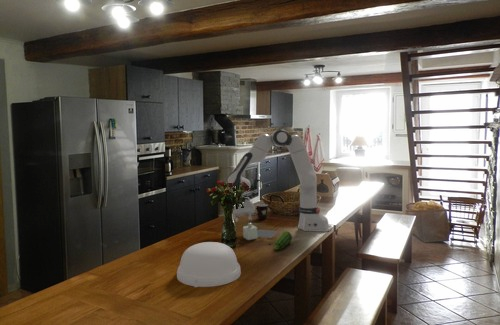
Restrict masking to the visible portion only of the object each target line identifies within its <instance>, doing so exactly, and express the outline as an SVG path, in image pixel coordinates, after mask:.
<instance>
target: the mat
mask: <svg viewBox="0 0 500 325" xmlns="http://www.w3.org/2000/svg"><path fill="white" fill-rule="evenodd" d="M279 232H280V231H279V230H270V229H260V228H259V229H257V235H258V238H266V239H267V238H269V239H272V238H273V237H274V236H275V235H277V234H278V233H279Z"/></svg>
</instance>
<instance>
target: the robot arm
mask: <svg viewBox="0 0 500 325" xmlns="http://www.w3.org/2000/svg"><path fill="white" fill-rule="evenodd" d="M272 147H276V148H278V147H279V148H281V147H286V148H287V150H288V152H289V155H290V158H291V161H292V163H293V165H294V168H295V171H296V174H297V177H298V179H299V210H298V212H299V220H298V225H297V228H298V229H299V230H302V231H304V232H320V233H321V232H326V233H327V232H329V231H331V230H332V229H333V228H332V227H333V226H332V225H330V224H329V220H328V218H327V217H326V216H325V215H323V214H322V213H321V210H320V209H321V208H320V207H318V199H317V198H318V194H317V193H318V192H317V190H318V189H317V187H318V185H317V182H318V177H317V174H316V172H315V170H314V166H313V164H312V161H311V158H310V156H309V153H308V151H307V148H306V146H305V142H304V141H303V140H302V138H301V136H300V135H298V134H291V133H289V132H288V131H287V130H285V129H282V128H281V129H277V130H275V131H273V132H272V133H271V134H268V133H260V134H259V136H257V138H256V139H255V141H254V143H253V145H252V146H251V148H250V149H249V151H247V152H246V153H245V154H244V155H243V156H242V158H241V159H240V161H238V164H237V165H236V167H235V168H234V170H233V171H232V172H231V173H230V174H229V175H228V177H227V178H226V182H225V183H233V186H234V187H235V186H236V185H237V183H242V182H245V183H246V184H247V185H248V186H249V188H250V189H249V190H248V191H246V192H244V193H243V194H242V195H241V196H243V195H245V194H247V193H248V192H249V191H250V190H251V187H252V183H251V181H250V180H249V179H248V178H245V176H243V174H244V173H245V171H246V169H247V168H248V166H250V165H251V164H258V163H262V162H263V161H264V160H265V159H266V157H267V155H268V153H269V151H270V149H271V148H272ZM243 197H244V198H245V202H244V203H243V206H244V208H241V205H239V207H238V209H236V207H235V206H234V210H233V218H232V219H233V220H234V221H235V222H236V223H237V222H238V221H239V218H238V216H245V215H248V216H247V217H248V220H252V215H253V214H254V213H256V212H255V211H256V206H255V205H254V203H253V202H252V201H251V198H250V197H248V196H243Z"/></svg>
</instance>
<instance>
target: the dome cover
mask: <svg viewBox="0 0 500 325" xmlns="http://www.w3.org/2000/svg"><path fill="white" fill-rule="evenodd" d="M180 258H181V259H180V262H179V266H178V267H177V269H176V270H177V271H176V278H177V280H178V282H180V283H182V284H184V285H187V286H191V287H192V286H193V287H194V288H209V287H217V286H222V285H226V284H227V285H228V284H230V283H232V282H234V281H236V280H238V279H239V278H240V276H241V274H242V271H241V265H240V263H239V262H238V259H237V256H236V253H235V251H234V249H233V248H231V247H230V246H229V245H227V244H225V243H223V242H218V241H217V242H215V241H205V242H204V241H203V242H199V243H196V244H192V245H191V246H189V247H188V248H186V249H185V250H184V252H183V253H182V256H181V257H180Z"/></svg>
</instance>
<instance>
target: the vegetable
mask: <svg viewBox="0 0 500 325" xmlns="http://www.w3.org/2000/svg"><path fill="white" fill-rule="evenodd" d="M292 239H293V236H292V234H291V233H290V232H289V231H283V232H281V233H280V235H279V236H278V237H277V239H276V240H275V242H274V244H273V248H274V250H275V251H282V249H284V248H285V247H286V246H288V245H289V244H291V242H292Z"/></svg>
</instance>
